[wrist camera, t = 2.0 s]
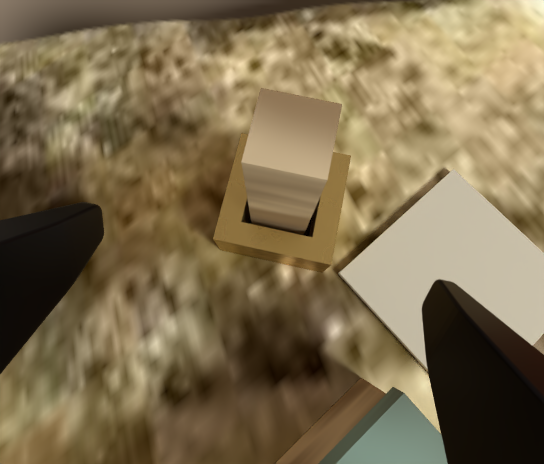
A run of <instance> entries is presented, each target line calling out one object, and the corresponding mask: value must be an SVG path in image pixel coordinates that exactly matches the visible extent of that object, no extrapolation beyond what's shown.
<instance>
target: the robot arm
mask: <svg viewBox="0 0 544 464" xmlns="http://www.w3.org/2000/svg"><path fill="white" fill-rule="evenodd" d="M103 236H104V227H103V218H102V210H101V208H100V206H98V205H96V204H92V203H87V202H81V203H77V204H72V205H68V206H63V207H59V208H54V209H50V210H45V211H41V212H36V213H32V214H27V215H23V216H18V217H14V218H9V219H5V220H0V374H1V373H2V372H3V370H4V369H5V368H6V367H7V365H8V364H9V363H10V362H11V360H12V359H13V358H14V357H15V356H16V354H17V353H18V352H19V351H20V349H21V348H22V347H23V346H24V344H25V343H26V342H27V341H28V339H29V338H30V337H31V336H32V335H33V333H34V332H35V331H36V330H37V328H38V327H39V326H40V325H41V323H42V322H43V321H44V320H45V319H46V317H47V316H48V315H49V314H50V312H51V311H52V310H53V309H54V307H55V306H56V305H57V304H58V303H59V301H60V300H61V299H62V298H63V296H64V295H65V294H66V293H67V291H68V290H69V289H70V288H71V286H72V285H73V284H74V282H75V281H76V279H77V278H78V277H79V275H80V273H81V272H82V270H83V269H84V267H85V266H86V264H87V263H88V261H89V259H90V258H91V256H92V255H93V253H94V252H95V250H96V249H97V247H98V245H99V244H100V242H101V241H102V239H103ZM422 321H423V332H424V343H425V355H426V363H427V368H428V374H429V378H430V383H431V388H432V392H433V397H434V402H435V407H436V411H437V416H438V421H439V426H440V430H441V435H442V440H443V444H444V449H445V454H446V459H447V463H448V464H544V355H543V354H542V353H541V352H540V351H538V350H537V349H536V348H535V347H533V346H532V345H531V344H530V343H528V342H527V341H526V340H525V339H524V338H522V337H521V336H520V335H519V334H517V333H516V332H515V331H514V330H512V329H511V328H510V327H509V326H507V325H506V324H505V323H504V322H502V321H501V320H500V319H499V318H498V317H496V316H495V315H494V314H493V313H491V312H490V311H489V310H488V309H486V308H485V307H484V306H483V305H481V304H480V303H479V302H478V301H476V300H475V299H474V298H473V297H472V296H470V295H469V294H468V293H467V292H465V291H464V290H463V289H462V288H460V287H459V286H458V285H457V284H455V283H454V282H451V281H446V280H442V279H438V280H436V281H435V282H434V283H433V284H432V286H431V288H430V290H429V292H428V294H427V296H426V298H425V300H424V302H423V304H422Z"/></svg>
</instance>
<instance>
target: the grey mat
mask: <svg viewBox="0 0 544 464" xmlns="http://www.w3.org/2000/svg"><path fill="white" fill-rule="evenodd" d="M338 274H339V276H340V277H341V278H342V279H343V280H344V281H345V282H346V283H347V284H348V285H349V286H350V288H351V289H352V290H353V291H354V292H355V293H356V294H357V295H358V296H359V297H360V299H361V300H362V301H363V302H364V303H365V304H366V305H367V306H368V307H369V308H370V309H371V311H372V312H373V313H374V314H375V315H376V316H377V317H378V318H379V319H380V320H381V321H382V323H383V324H384V325H385V326H386V327H387V328H388V329H389V330H390V331H391V332H392V333H393V335H394V336H395V337H396V338H397V339H398V340H399V341H400V342H401V343H402V344H403V346H404V347H405V348H406V349H407V350H408V351H409V352H410V353H411V354H412V355H413V356H414V358H415V359H416V360H417V361H418V362H419V363H420V364H421V365H422V366H423V367H424V368H425V370H426V371H427V372H428V368H427V363H426V355H425V343H424V332H423V321H422V304H423V302H424V300H425V298H426V296H427V294H428V292H429V290H430V288H431V286H432V284H433V283H434V282H435V281H436V280H438V279H442V280H446V281H451V282H454V283H455V284H457V285H458V286H459V287H460V288H462V289H463V290H464V291H465V292H467V293H468V294H469V295H470V296H472V297H473V298H474V299H475V300H476V301H478V302H479V303H480V304H481V305H483V306H484V307H485V308H486V309H488V310H489V311H490V312H491V313H493V314H494V315H495V316H496V317H498V318H499V319H500V320H501V321H502V322H504V323H505V324H506V325H507V326H509V327H510V328H511V329H512V330H514V331H515V332H516V333H517V334H519V335H520V336H521V337H522V338H524V339H525V340H526V341H527V342H528V343H530V344H531V345H532V346H533V345H534V344H535V343H536V341H537V340H538V339H539V338H540V337H541V336H542V335H543V334H544V253H543V252H542V251H541V250H540V249H539V248H538V247H537V246H536V245H535V244H533V243H532V242H531V241H530V240H529V239H528V238H527V237H526V236H525V235H524V234H523V233H522V232H521V231H520V230H518V229H517V228H516V227H515V226H514V225H513V224H512V223H511V222H510V221H509V220H508V219H507V218H506V217H505V216H504V215H502V214H501V213H500V212H499V211H498V210H497V209H496V208H495V207H494V206H493V205H492V204H491V203H490V202H489V201H488V200H486V199H485V198H484V197H483V196H482V195H481V194H480V193H479V192H478V191H477V190H476V189H475V188H474V187H473V186H471V185H470V184H469V183H468V182H467V181H466V180H465V179H464V178H463V177H462V176H461V175H460V174H459V173H458V172H457V171H455V170H454V169H453V170H452V171H450V172H449V173H448V174H447V175H446V176H445V177H444V178H443V179H442V180H441V181H439V182H438V183H437V184H436V185H435V186H434V187H433V188H432V189H431V190H430V191H428V192H427V193H426V194H425V195H424V196H423V197H422V198H421V199H420V200H419V201H417V202H416V203H415V204H414V205H413V206H412V207H411V208H410V209H409V210H408V211H406V212H405V213H404V214H403V215H402V216H401V217H400V218H399V219H398V220H397V221H395V222H394V223H393V224H392V225H391V226H390V227H389V228H388V229H387V230H386V231H384V232H383V233H382V234H381V235H380V236H379V237H378V238H377V239H376V240H375V241H373V242H372V243H371V244H370V245H369V246H368V247H367V248H366V249H365V250H364V251H362V252H361V253H360V254H359V255H358V256H357V257H356V258H355V259H354V260H352V261H351V262H350V263H349V264H348V265H347V266H346V267H345V268H344V269H343V270H341V271H340V272H339V273H338Z"/></svg>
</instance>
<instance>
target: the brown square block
mask: <svg viewBox="0 0 544 464" xmlns="http://www.w3.org/2000/svg"><path fill="white" fill-rule="evenodd" d="M341 107H342V104H339V103H334V102H329V101H324V100H319V99H314V98H309V97H304V96H299V95H294V94H289V93H284V92H279V91H274V90H269V89H264V88H261V89H260V93H259V97H258V101H257V104H256V108H255V112H254V116H253V120H252V123H251V127H250V131H249V135H248V139H247V142H246V146H245V150H244V154H243V157H242V161H241V163H242V169H243V175H244V181H245V187H246V193H247V199H248V205H249V211H250V217H251V223H252V224H253V225H258V226H262V227H267V228H271V229H276V230H281V231H285V232H290V233H295V234H299V235H304V233H305V231H306V228H307V226H308V224H309V221H310V219H311V217H312V215H313V212H314V210H315V208H316V205H317V203H318V201H319V198H320V196H321V194H322V191H323V189H324V187H325V185H326V182H327V180H328V174H329V169H330V164H331V159H332V154H333V149H334V144H335V138H336V133H337V128H338V123H339V118H340V113H341Z"/></svg>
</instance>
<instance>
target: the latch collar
mask: <svg viewBox="0 0 544 464" xmlns="http://www.w3.org/2000/svg"><path fill="white" fill-rule="evenodd" d="M247 139H248V134H243V133H241V137H240V140H239V144H238V148H237V151H236V155H235V159H234V163H233V166H232V170H231V174H230V177H229V181H228V185H227V189H226V192H225V196H224V200H223V203H222V207H221V211H220V215H219V218H218V222H217V226H216V229H215V233H214V237H213V240H214V241H215V243H216V244H217V246H218V247H219V248H220V250H222V251H227V252H232V253H236V254H241V255H245V256H250V257H254V258H259V259H263V260H268V261H272V262H277V263H281V264H286V265H291V266H295V267H300V268H304V269H309V270H313V271H318V272H323V271H325V270H326V269H327V268H328V267H329V266H331V264H332V258H333V253H334V247H335V242H336V236H337V230H338V225H339V219H340V214H341V208H342V203H343V197H344V191H345V186H346V180H347V175H348V169H349V164H350V158H351V156H350V155H345V154H340V153H335V152H333V154H332V159H331V164H330V169H329V174H328V180H327V182H326V185H325V187H324V189H323V191H322V194H321V196H320V198H319V201H318V203H317V205H316V208H315V210H314V212H313V217H312V222H311V227H310V232H309V237H308V236H304V235H299V234H295V233H290V232H285V231H281V230H276V229H271V228H267V227H262V226H258V225H253V224H248V220H249V216H250V211H249V205H248V199H247V193H246V187H245V181H244V175H243V169H242V163H241V161H242V157H243V154H244V150H245V146H246V142H247Z"/></svg>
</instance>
